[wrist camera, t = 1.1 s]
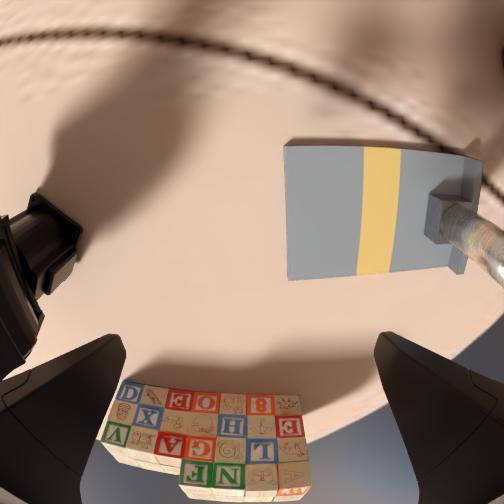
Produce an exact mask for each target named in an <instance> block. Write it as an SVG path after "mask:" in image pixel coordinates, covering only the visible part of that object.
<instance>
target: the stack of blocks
mask: <svg viewBox="0 0 504 504" xmlns="http://www.w3.org/2000/svg"><path fill="white" fill-rule="evenodd" d="M101 443H102V444H103V445H104V446H105V447H106V449H107V450H108V451H109V452H110V453H111V454H112V455H113V456H114V457H115V459H116V460H117V461H118V462H120V463H124V464H128V465H133V466H136V467H141V468H144V469H149V470H154V471H159V472H166V473H170V474H176V475H179V483H178V484H179V486H180V487H181V489H182V490H183V491H184V492H185V493H186V494H187V496H188V497H189V498H194V499H202V500H214V501H225V502H270V501H274V502H275V501H276V502H277V501H293V500H300V499H301V498H302V497H303V495H305V493H306V492H307V491H308V490H309V489H310V487H311V478H310V471H309V463H308V462H309V458H308V451H307V444H306V439H305V433H304V426H303V420H302V412H301V405H300V398H299V395H250V394H248V395H246V394H230V393H220V394H218V393H205V392H192V391H183V390H174V389H168V388H161V387H154V386H148V385H143V384H137V383H131V382H126V381H122V383H121V386H120V388H119V390H118V393H117V395H116V398H115V400H114V403H113V405H112V408H111V410H110V413H109V416H108V421H107V423H106V426H105V429H104V432H103V435H102V438H101Z"/></svg>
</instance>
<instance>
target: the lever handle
mask: <svg viewBox="0 0 504 504" xmlns="http://www.w3.org/2000/svg"><path fill="white" fill-rule="evenodd" d="M472 206H473V202H471V201H470V200H468V199H466V198H464V197H462V196H460V195H446V194H429V198H428V207H427V215H426V222H425V229H424V235H425V236H426V237H427V238H429V239H430V240H431V241H432V242H434V243H435V244H436V245H437V244H453V245H454V246H455V247H457V248H458V249H459V250H460V251H462V252H463V253H464V254H465V255H467V256H468V257H469V258H470V259H471V260H473V261H474V262H475V263H476V264H477V265H479V266H480V267H481V268H482V269H483V270H484V271H485V272H487V273H488V274H489V275H490V276H491V277H492V278H493V279H494V280H496V281H497V282H498V283H499V284H500V285H501V286H502V287H503V288H504V230H503V229H502V228H500V227H499V226H497V225H495V224H494V223H492V222H491V221H489V220H487V219H485V218H484V217H482V216H480V215H479V214H477V213H475V212H473V211H472Z"/></svg>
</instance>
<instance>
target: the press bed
mask: <svg viewBox="0 0 504 504" xmlns="http://www.w3.org/2000/svg"><path fill="white" fill-rule="evenodd" d="M283 149H284V171H285V196H286V229H287V277H288V281H293V280H307V279H321V278H333V277H346V276H357V275H368V274H379V273H390V272H400V271H409V270H419V269H428V268H437V267H445V266H448V267H449V268H450V269H451V270H452V271H453V272H454V273H455V274H457V275H459V274H464V270H465V267H466V263H467V259H468V256H467V255H465V254H464V253H463V252H462V251H460V250H459V249H458V248H457V247H455V246H454V245H453V244H437V245H436V244H435V243H434V242H432V241H431V240H430V239H429V238H427V237H426V236H425V235H424V229H425V222H426V215H427V207H428V198H429V194H446V195H460V196H462V197H464V198H466V199H468V200H470V201H471V202H473V206H472V211H473V212H475V213H477V211H478V204H479V197H480V189H481V180H482V169H483V161H480V160H477V159H474V158H470V157H467V156H462V155H455V154H448V153H440V152H432V151H423V150H414V149H403V148H390V147H373V146H348V145H294V146H283Z"/></svg>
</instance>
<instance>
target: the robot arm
mask: <svg viewBox="0 0 504 504" xmlns="http://www.w3.org/2000/svg"><path fill="white" fill-rule="evenodd" d="M34 197H35V198H34ZM76 229H77V231H78V233H77V232H76ZM82 232H83V231H82V228H81V226H80V225H78V224H77V223H76V222H74V221H73V220H72V219H70V218H69V217H68V216H66V215H65V214H64V213H62V212H61V211H60V210H58V209H57V208H56V207H54V206H53V205H52V204H50V203H49V202H48V201H47V200H45V199H44V198H43V197H42V196H40V195H39V194H38V193H33V194H32V195H31V196H30V199H29V203H28V207H27V210H25V211H23V212H21V213H20V214H18V215H16V216H14V217H13V218H11V219H9V216H8V215H4V216H0V504H82V501H81V495H80V481H81V476H82V475H83V472H84V469H85V466H86V464H87V461H88V458H89V455H90V453H91V450H92V447H93V445H94V442H95V440H96V437H97V434H98V432H99V429H100V427H101V424H102V422H103V419H104V417H105V415H106V412H107V410H108V407H109V405H110V403H111V400H112V398H113V396H114V393H115V391H116V388H117V385H118V382H119V379H120V376H121V372H122V369H123V366H124V363H125V359H126V350H125V348H124V345H123V343H122V340H121V338H120V336H119V335H118V334H107V335H104V336H102V337H100V338H98V339H96V340H94V341H92V342H89V343H87V344H85V345H83V346H81V347H79V348H76V349H74V350H72V351H70V352H68V353H65V354H63V355H61V356H59V357H57V358H54V359H52V360H50V361H48V362H46V363H43V364H41V365H39V366H37V367H35V368H32V370H31V369H29V370H27V371H25V372H23V373H20V374H18V375H15V376H13V377H11V378H8V379H5V380H3V379H4V378H5V377H6V376H7V375H8V374H9V373H10V372H12V371H13V370H14V369H16V368H18V367H19V366H21V365H23V364H25V362H26V361H25V359H26V358H27V357H28V356H29V354H30V353H31V351H32V349H33V347H34V346H35V344H36V342H37V335H38V333H39V330H40V327H41V325H42V322H43V320H44V317H45V315H44V313H43V311H42V310H41V309H40V307H39V305H38V303H37V300H38V299H39V298H40V297H41V296H42V295H43V294H44V293H45V294H46V295H50V294H51V293H52V292H53V291H54V290H55V289H56V288H57V287H58V286H59V285H60V284H61V283H62V282H63V281H65V280H66V279H67V278H68V275H69V274H70V273H71V272H72V270H73V266H74V263H75V260H76V257H77V254H78V251H77V247H78V244H79V241H80V238H81V235H82ZM374 358H375V361H376V365H377V368H378V372H379V375H380V379H381V383H382V386H383V389H384V392H385V394H386V397H387V399H388V402H389V404H390V407H391V409H392V412H393V414H394V417H395V419H396V422H397V425H398V427H399V430H400V433H401V435H402V438H403V441H404V443H405V446H406V449H407V452H408V455H409V458H410V460H411V464H412V467H413V469H414V473H415V475H416V479H417V481H418V485H419V492H420V493H419V502H418V504H504V383H501V382H499V381H496V380H493V379H491V378H489V377H486V376H484V375H482V374H479V373H477V372H475V371H473V370H471V369H469V370H468V368H466V367H464V366H462V365H459V364H457V363H455V362H453V361H451V360H449V359H447V358H445V357H443V356H441V355H439V354H437V353H434V352H432V351H430V350H428V349H426V348H424V347H422V346H420V345H418V344H416V343H414V342H412V341H410V340H407V339H405V338H403V337H401V336H399V335H397V334H395V333H393V332H390V331H388V332H381V333H380V334H379V336H378V339H377V342H376V345H375V348H374ZM2 380H3V381H2Z"/></svg>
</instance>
